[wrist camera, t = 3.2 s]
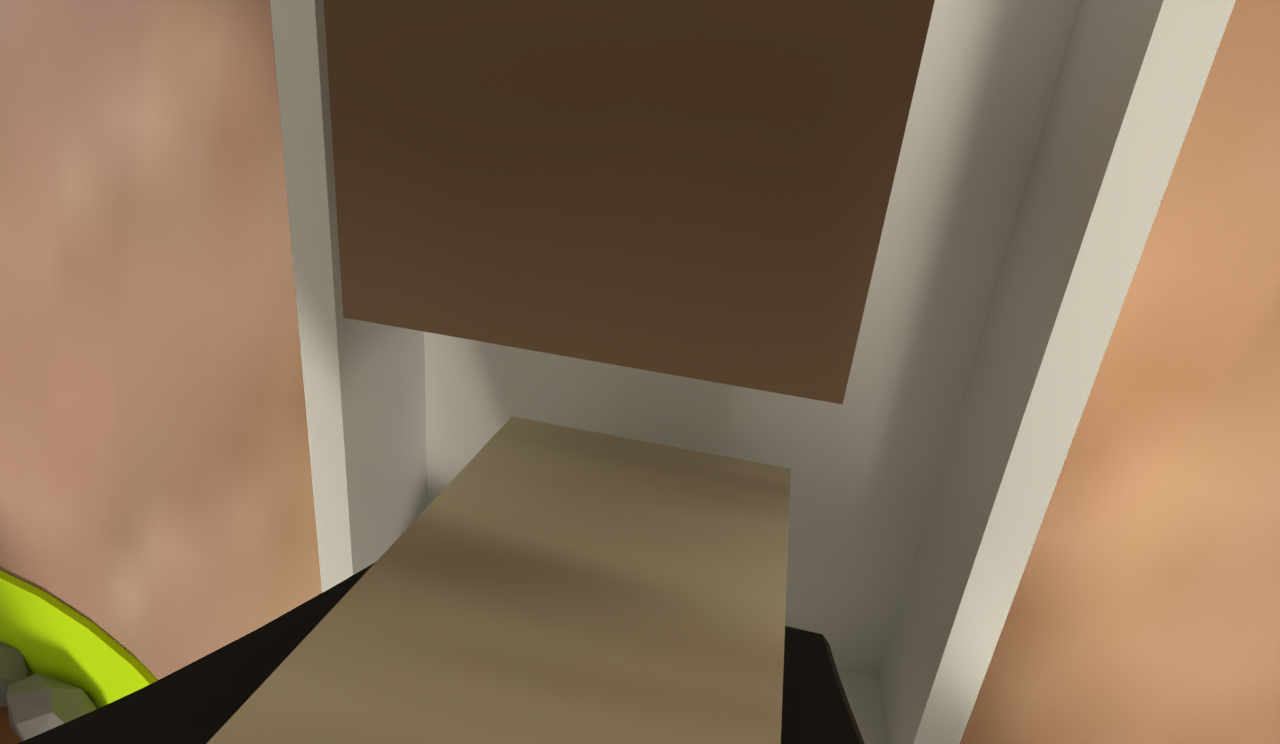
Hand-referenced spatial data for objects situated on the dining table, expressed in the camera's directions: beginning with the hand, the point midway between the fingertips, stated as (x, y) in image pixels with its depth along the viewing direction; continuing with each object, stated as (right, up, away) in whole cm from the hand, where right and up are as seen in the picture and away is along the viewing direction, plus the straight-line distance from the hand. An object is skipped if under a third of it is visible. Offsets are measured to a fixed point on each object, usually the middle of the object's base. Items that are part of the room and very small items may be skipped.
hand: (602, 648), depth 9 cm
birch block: (0, +1, +2) cm, 2 cm away
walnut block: (+1, +8, +1) cm, 8 cm away
